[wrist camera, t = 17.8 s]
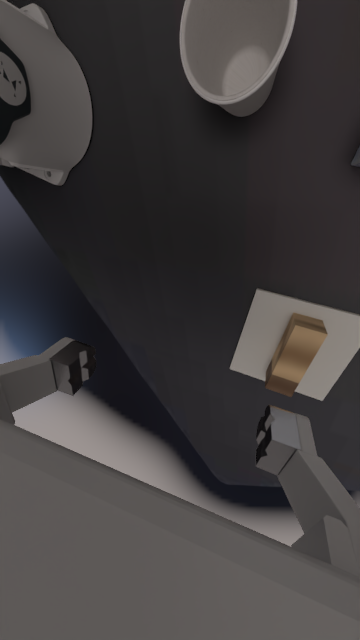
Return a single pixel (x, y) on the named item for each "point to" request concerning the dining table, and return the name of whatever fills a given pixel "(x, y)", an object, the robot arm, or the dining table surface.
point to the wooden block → (295, 353)
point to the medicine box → (356, 158)
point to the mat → (269, 327)
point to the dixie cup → (235, 49)
